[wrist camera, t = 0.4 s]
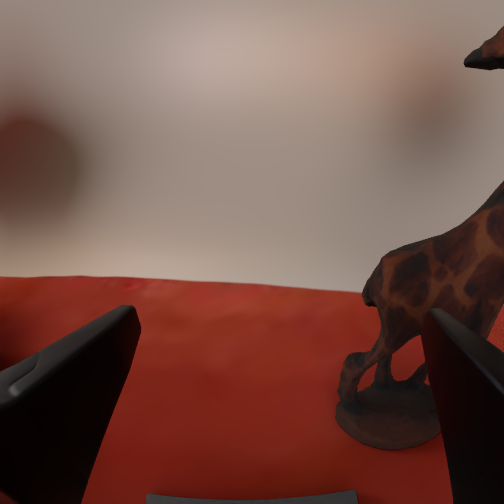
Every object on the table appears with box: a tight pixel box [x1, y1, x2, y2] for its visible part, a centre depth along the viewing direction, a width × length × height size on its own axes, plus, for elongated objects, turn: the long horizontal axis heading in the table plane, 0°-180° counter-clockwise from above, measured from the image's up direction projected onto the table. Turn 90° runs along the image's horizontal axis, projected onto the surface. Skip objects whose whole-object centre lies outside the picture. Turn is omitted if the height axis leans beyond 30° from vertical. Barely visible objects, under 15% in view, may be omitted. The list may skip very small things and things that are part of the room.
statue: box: [336, 26, 504, 450], centre depth 14 cm, size 12×7×30 cm, turn 79°
